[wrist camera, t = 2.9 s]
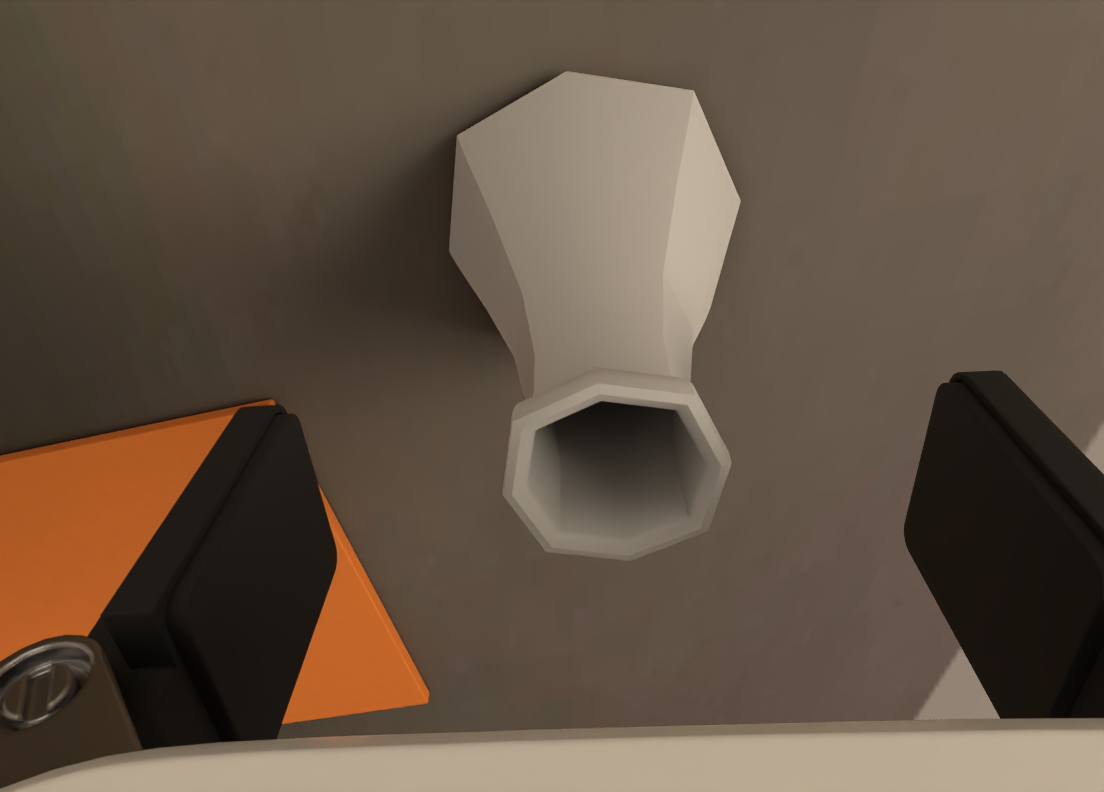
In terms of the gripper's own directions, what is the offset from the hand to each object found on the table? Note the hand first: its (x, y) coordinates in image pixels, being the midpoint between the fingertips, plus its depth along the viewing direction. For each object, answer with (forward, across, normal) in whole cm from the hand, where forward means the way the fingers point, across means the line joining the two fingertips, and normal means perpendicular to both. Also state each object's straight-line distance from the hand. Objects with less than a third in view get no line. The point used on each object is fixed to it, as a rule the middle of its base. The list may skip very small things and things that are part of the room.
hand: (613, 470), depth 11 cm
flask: (+9, 0, -1) cm, 9 cm away
